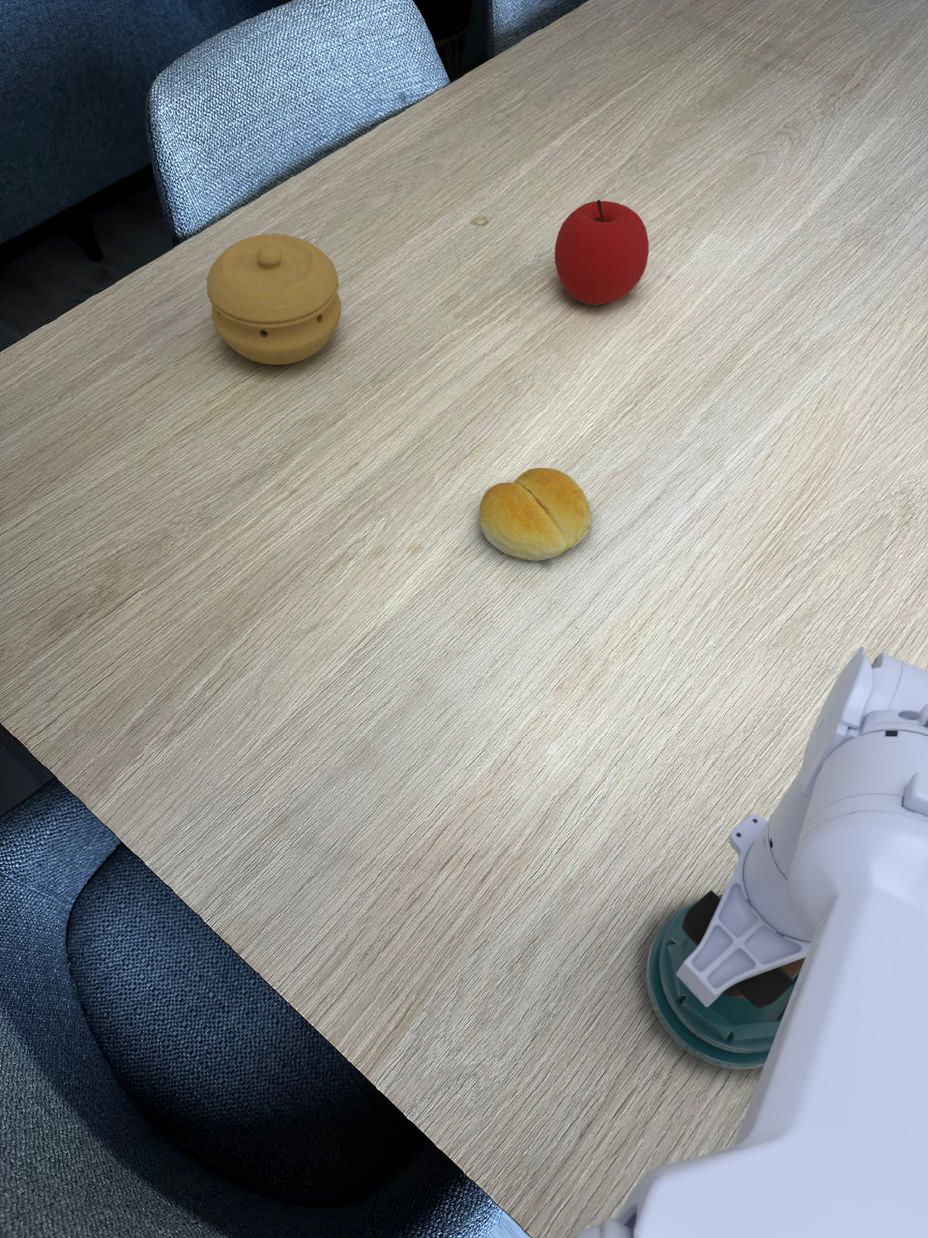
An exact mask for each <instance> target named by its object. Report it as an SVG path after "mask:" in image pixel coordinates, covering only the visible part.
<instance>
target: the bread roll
mask: <svg viewBox="0 0 928 1238" xmlns="http://www.w3.org/2000/svg"><path fill="white" fill-rule="evenodd" d="M584 492H585V491H584V490H583V489H582V488H581V487H580V486H579V484H578V483H577V481H575V480H574V478H573V477H572V476H571V475H569V474H567V473H566V472H563V471H561V470H559V469H556V468H549V467H535V468H530V469H527V470H526V471H524V472H523V473H521V474H520V475H519V476H518V477H517V478H516V479H515V480H514V481H513V482H499V483H497V484H494V485H492V486H491V487H489V489H487V490H486V491H485V492H484V494H483V496H482V498H481V501H480V504H479V509H478V517H479V525H480V529H481V531H482V534H483V535H484V537H485V539H486V540H487V541H488V543H490V544H491V545H492V546H493V547H494V548H495V549H497V550H498V551H500V552H502V553H504V554H506V555H508V556H512V557H515V558H519V559H522V560H527V561H533V562H537V561H545V560H549V559H553V558H555V557H558V556H560V555H562V554H563V553H564V552H565V551H567V550H570V549H572V548H574V547H576V546H577V545H579V544H580V543H581V542H582V541H583V540H584V539H586V537H587V536H588V534H589V532H590V531H591V529H592V527H593V523H592V522H593V521H592V516H591V514H592V513H591V511H590V506H589V503H588V500H587V497H586V495H585V493H584Z"/></svg>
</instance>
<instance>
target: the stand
mask: <svg viewBox="0 0 928 1238" xmlns="http://www.w3.org/2000/svg"><path fill="white" fill-rule="evenodd" d="M716 895H717V894H716ZM717 896H718V897H719V898H720V899H721V898H722V896H723V894H718V895H717ZM699 900H700V899H698V900H697V901H694V902H692V903H691V904H688V905H686V906H683V907H682V908H681V909H679V910H678V911H676V912H675V913H673V914H672V915H671V916H670V917H669V918H668V919H667V920H665V922H664V924H662V925H661V927H660V929H659V930H658V932H657V933H656V936H655V937H654V939H653V941H652V944H651V945H650V948H649V951H648V955H647V957H646V965H645V985H646V991H647V996H648V1001H649V1003H650V1005H651V1008H652V1011H653V1013H654V1015H655V1017H656V1019H657V1021H658V1023H659V1024H660V1025H661V1027H662V1028H663V1030H664V1031H665V1033H666V1034H667V1035H668V1037H670V1039H671V1040H672V1041H673V1042H674V1043H675V1044H676V1045H677V1046H679V1048H681V1050H683V1051H685V1053H687V1054H688V1055H690V1056H691V1057H693V1058H695V1059H697V1060H699V1061H701V1062H703V1063H704V1064H707V1065H710V1066H712V1067H716V1068H720V1069H724V1070H732V1071H748V1070H754V1069H760V1068H764V1065H765V1063H766V1060H767V1057H768V1055H769V1052H770V1049H771V1047H772V1044H773V1042H774V1039H775V1036H776V1034H777V1031H778V1028H779V1026H780V1023H781V1021H782V1018H783V1015H784V1013H785V1010H786V1007H787V1005H788V1002H789V1000H790V997H791V994H792V992H793V989H794V986H795V984H796V981H797V979H798V976H799V973H800V972H799V973H798V974H797V975H796V977H795V978H794V979H793V980H794V982H795V983H794V984H793V985H792V986H791V987H790V988H789V989H788V990H787V991H786V992H784V993H783V994H782V995H781V996H780V997H779V998H778V999H777V1000H776V1001H775V1002H774V1003H773V1004H771V1005H769V1006H766V1007H764V1008H760V1009H759V1008H756V1007H755V1006H754V1005H753V1004H752V1003H751V1002H750V1001H747V1000H743V999H739V998H736V997H734V996H726V995H725V994H724V993H723V992H722V993H721V994H720V996H719V997H718V998H717V999H716V1000H715V1001H714V1002H713V1003H712V1004H711V1005H709V1006H708V1007H705V1006H704V1004H703V1003H702V1002H701V1001H700V1000H699V999H698V998H697V997H696V996H695V995H694V994H693V993H692V992H691V991H690V989H689V988H688V987H687V986H686V985H685V984H684V983H683V981H682V980H681V979H680V978H679V977H678V976H677V972H678V970H679V969H680V967H681V966H682V964H683V962H684V961H685V960H686V959H687V958H688V957H689V956H690V955H691V954H692V953H693V952H694V951H695V949H696V948H697V947H698V946H697V945H696V944H695V943H694V942H693V941H692V940H691V939H690V938H689V937H688V935H687V934H686V933H685V932H684V930H683V929H682V923H683V920H684V917H685V915H686V913H687V912H688V910H689V909H690V908H691V907H692V906H693V905H694V904H696V903H697V902H698V901H699Z"/></svg>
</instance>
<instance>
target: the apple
mask: <svg viewBox="0 0 928 1238" xmlns="http://www.w3.org/2000/svg"><path fill="white" fill-rule="evenodd" d="M647 231H648V230H647V227H646V225H645V224H644V221H643V220H642V218H641V217H640V215H639V214H638V213H636V211H634V210H633V209H631V208H630V207H629V206H627V205H624V204H621V203H619V202H615V201H614V202H613V201H608V200H600V199H597V200H596V201H590V202H586V203H584V204H582V205H580V206H579V207H577V208H576V209H575V210H573V211H572V212H571V213H570V214H569V215H568V216H567V217H566V219H565V220H564V221H562V224H561V226H560V228H559V230H558V233H557V236H556V240H555V244H554V245H555V246H554V247H555V248H554V264H555V270H556V273H557V275H558V276H557V277H558V278H559V281H560V282H561V284H562V285H563V288H564V289H565V290H566V291H567V292H568V294H570V296H571V297H572V298H573V299H574V300H576V301H578V302H580V303H582V304H587V305H602V304H608V303H614V302H615V303H616V302H617V301H619V300H621V299H622V298H624V297H625V296H626V295H628V294H629V293H630V292H631V291H632V290H634V288H635V287H636V286H637V285H638V284H639V282H640V281H641V279H642V277H643V275H644V273H645V271H646V268H647V265H648V259H649V254H650V253H649V252H650V251H649V250H650V249H649V247H650V241H649V236H648V232H647Z"/></svg>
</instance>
